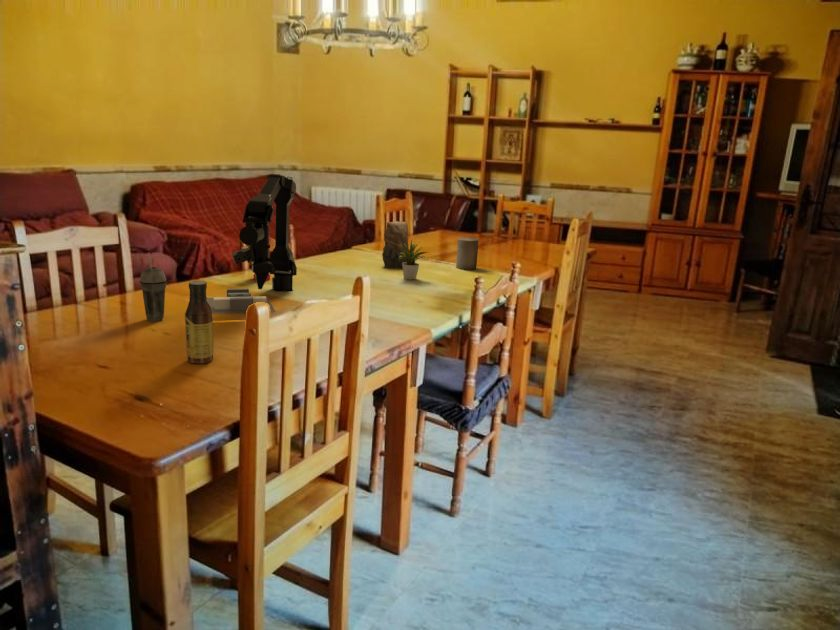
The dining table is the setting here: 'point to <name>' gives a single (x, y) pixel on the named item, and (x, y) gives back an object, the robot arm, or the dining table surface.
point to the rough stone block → (391, 252)
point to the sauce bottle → (199, 325)
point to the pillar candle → (467, 253)
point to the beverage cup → (153, 292)
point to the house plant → (411, 261)
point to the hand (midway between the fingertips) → (259, 289)
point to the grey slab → (236, 302)
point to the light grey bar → (225, 301)
